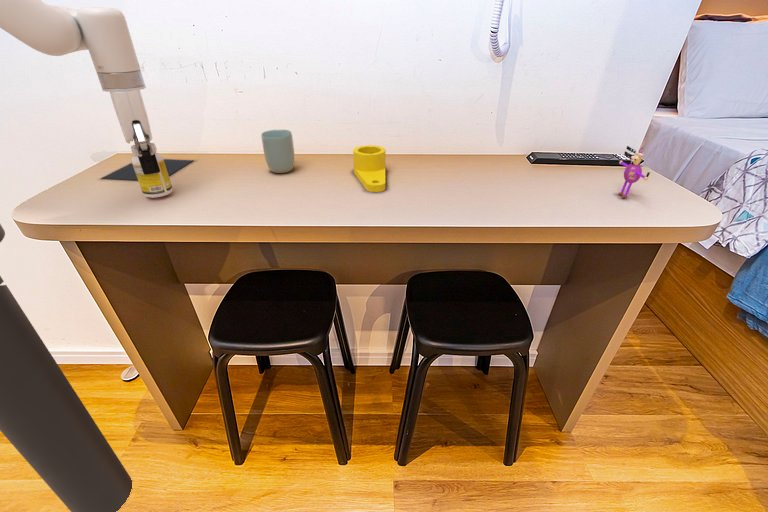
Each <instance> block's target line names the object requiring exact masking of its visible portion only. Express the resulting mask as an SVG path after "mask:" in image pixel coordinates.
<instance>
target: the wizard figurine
mask: <svg viewBox="0 0 768 512" xmlns="http://www.w3.org/2000/svg"><path fill="white" fill-rule="evenodd" d="M643 149H644V146H643V145H642V146H641V148H640V149H639V150H638V151H637V150H635V149H634V148H633V147H630V146H628V145H626V150H627V151H626V150H625V151H624V153H623V154H624V155H625V156H626V157H628V158H629V159H630V161H631V162H630V163H629V164H628V163H626V162H624V161H623V160H620V161H619V165H622V166H624V167H625V169H624V171H623V179H624V180H625V181H624V183H623V185H622V188H621V191H620V192H618V193H617V196H621V198H622V199H627V197H628V195H629V192H630V189H631V187H632V185H633V184H634V183H637V182H638V181H639V180H640V178H641V179H643V180H644V181H648V180H649V176H650V174H651V170H648V171H647V173H646V175H645V174H643V170H642V167H641V165H640V163H641V162H642V159H643V158H644V153H643ZM628 151H629V152H628ZM631 153H633V154H634V155H633V154H631ZM627 184H628V185H627ZM624 192H625V193H624Z"/></svg>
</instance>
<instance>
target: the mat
mask: <svg viewBox="0 0 768 512" xmlns="http://www.w3.org/2000/svg"><path fill="white" fill-rule="evenodd" d="M163 159H164V158H163ZM193 162H194V160H190V159H164V163H165V166H166V169H167V172H168V175H169V177H170V176H172V175H173V174H175V173H176V172H178V171H180V170H182V169H183V168H185V167H186V166H188V165H189V164H192V163H193ZM100 179H101V180H117V181H118V180H119V181H138V179H137V176H136V173H135V170H134V167H133V165H132V162H131V163H128V164H127V165H125V166H123V167H121V168H119V169H117V170H115V171H113V172H111V173H109V174H107V175H105V176H102V177H101V178H100Z"/></svg>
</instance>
